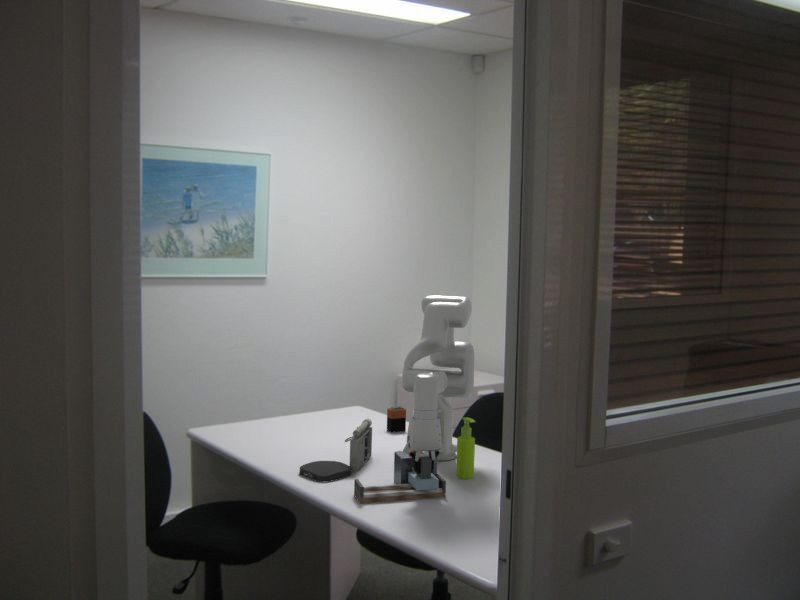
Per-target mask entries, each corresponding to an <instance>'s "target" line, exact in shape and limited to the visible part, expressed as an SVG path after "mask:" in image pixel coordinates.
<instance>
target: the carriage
mask: <svg viewBox="0 0 800 600" xmlns="http://www.w3.org/2000/svg"><path fill="white" fill-rule="evenodd" d="M419 461H420V473H419V474H417V473H416V472H408V482H409V483H410V484H411V485H412V486H413V487H414V488H415V489H416V490H417V491H418V490H432V489H439V479H438V478H437V477H436V476H435V475H433V474H432V473H431V463H432V459H431V458H430V457H428V456H427V455H426V454H420V455H419Z"/></svg>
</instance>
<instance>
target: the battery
mask: <svg viewBox="0 0 800 600" xmlns="http://www.w3.org/2000/svg"><path fill="white" fill-rule="evenodd" d="M386 411H387V412H386V430H387V431H388V432H390V433H399V432H400V431H401V432H405V431H406V428H407V427H406V426H407V423H406V422H407V419H406V418H407V409H406V408H404V407H403V405H397V407H395V406H391V407H390V408H387V410H386ZM401 432H400V433H401Z"/></svg>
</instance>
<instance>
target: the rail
mask: <svg viewBox="0 0 800 600" xmlns="http://www.w3.org/2000/svg"><path fill="white" fill-rule="evenodd" d="M435 476H436V477H437V478H438V479H439V489H432V490H418V491H417V490H416V489H415V488H414V487H413V486H412V485H411V484H395V483H394V484H386V485H385V484H384V485H368V486H367V485H366V486H364V485H363V484H362V483H361V481H360V480H359V479H358V478H354V483H353V484H354V488H353V489H354V490H353V491H354V492H353V493H354V494H353V495H354V496H356V497H355V498H356V500H357V499H358V500H357V501H358V503H359V504H371V503H372V502H373V503H385V502H387V503H388V502H398V501H411V500H412V501H414V500H423V499H424V500H425V499H439V498H440V497H441V498H446V495H447V494H446V490H447V489H446V488H447V481H446V480H445V479H444V477H442V476H440V474H438V473H437V474H435ZM373 503H372V504H373Z"/></svg>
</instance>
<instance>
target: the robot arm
mask: <svg viewBox="0 0 800 600" xmlns="http://www.w3.org/2000/svg"><path fill="white" fill-rule="evenodd" d="M420 306H421V310H422V313H423V315H424V316H423V321H422V322H423V323H422V329H421V337H420V341H419V342H417V344H415V345H414V346H413V347H412V348H411V349H410V351H409V352H408V353H407V354H406V357H405V358H404V362H403V368H402V375H401V385H402V388H403V390H404V391H406V392H408V393H413V394H412V397H413V398H412V403H413V404H412V416H411V417H410V418H409V420H408V428H407V434H406V435H407V436H406V444H405V446H404V447H403V449H402V451H403V452H404V453H406V454H408V455H410V456H411V457H412V458H413V459H414V470H415V472H416V473H417V474H419V473H420V461H419V455H420V451H429V457H430V458H431V459H432V463H431V473H432V469H434V460H435V458H436V457H437V462H439V461H440V462H443V461H452V460H455V459H456V458H457V444H454V443H453V431H454V429H453V426H454V425H453V424H454V408H453V406H452V403H451V402H450V401H449V399H448V398H457V399H458V398H460V399H466V398H470V397H471V396H472V395H473V394H474V388H475V349H474V346H473V344H472V343H470V342H468V341H459V340H458V341H457V340H455V339H454V338H455V337H454V332H455V329H457V328H458V329H462V328H463V329H464V328H465V327H466V326H467V325H468V323H469V319H470V317H471V315H472V301H471V300H470V298H469V297H467V296H457V295H438V294H437V295H427V296H424V297H423V298H422V300H421V305H420ZM428 356H429V361H430V363H431V365H432V366H434V367H439V368H452V369H453V368H454V369H459V370H449V369H448V370H447V369H430V368H429V369H428V368H414V366H415V364H416V363H417V362H419V361H420V360H421V359H423V358H426V357H428ZM409 449H411V450H412V451H413V452H412V451H410V450H409Z"/></svg>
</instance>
